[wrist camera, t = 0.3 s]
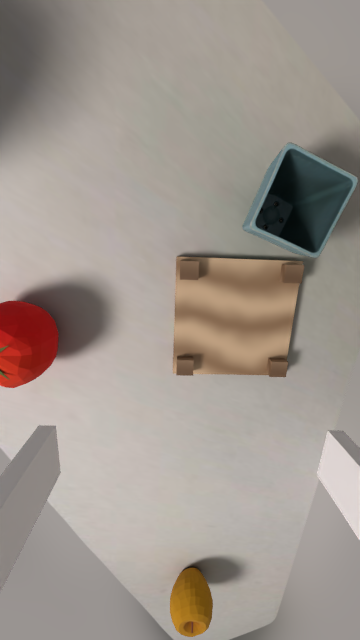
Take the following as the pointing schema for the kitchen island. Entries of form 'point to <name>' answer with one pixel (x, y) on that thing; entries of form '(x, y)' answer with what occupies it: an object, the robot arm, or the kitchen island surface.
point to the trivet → (234, 315)
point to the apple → (191, 603)
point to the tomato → (25, 342)
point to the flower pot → (300, 201)
